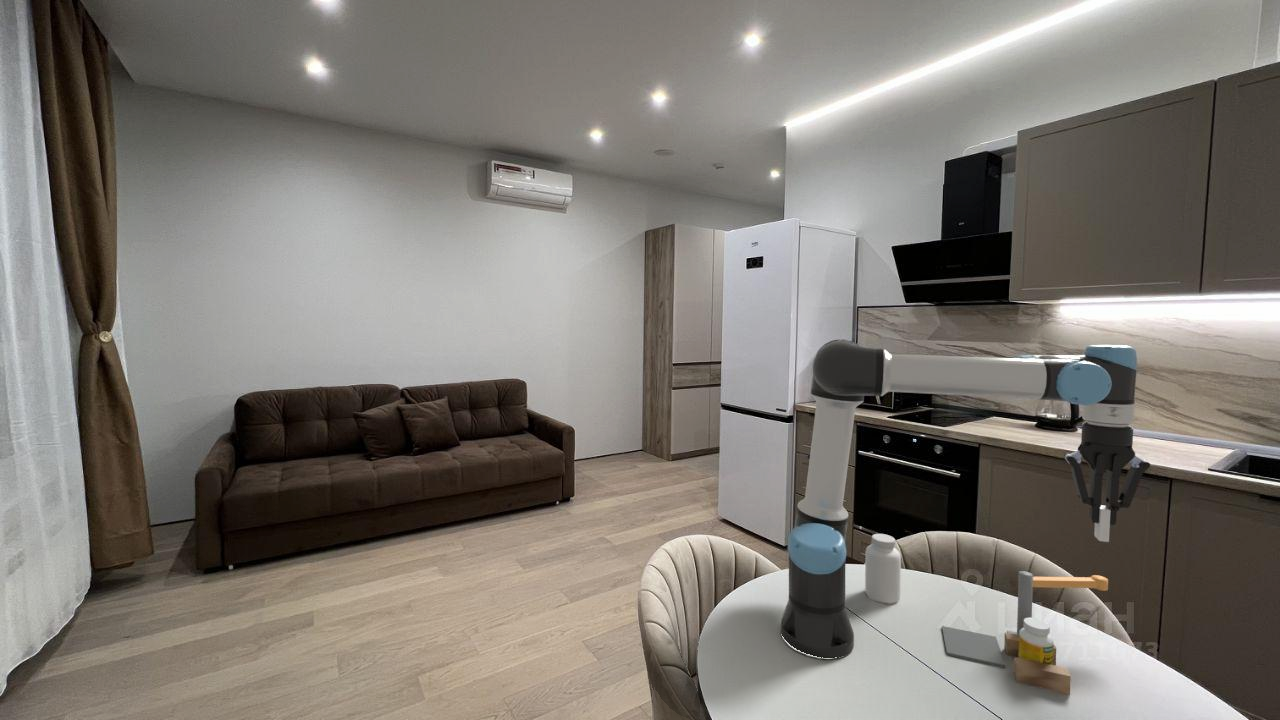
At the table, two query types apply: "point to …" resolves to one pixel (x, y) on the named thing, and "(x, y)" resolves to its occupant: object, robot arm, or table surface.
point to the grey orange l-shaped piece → (1029, 582)
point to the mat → (972, 646)
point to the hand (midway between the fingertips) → (1101, 538)
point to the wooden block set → (1036, 668)
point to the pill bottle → (883, 569)
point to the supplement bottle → (1036, 641)
